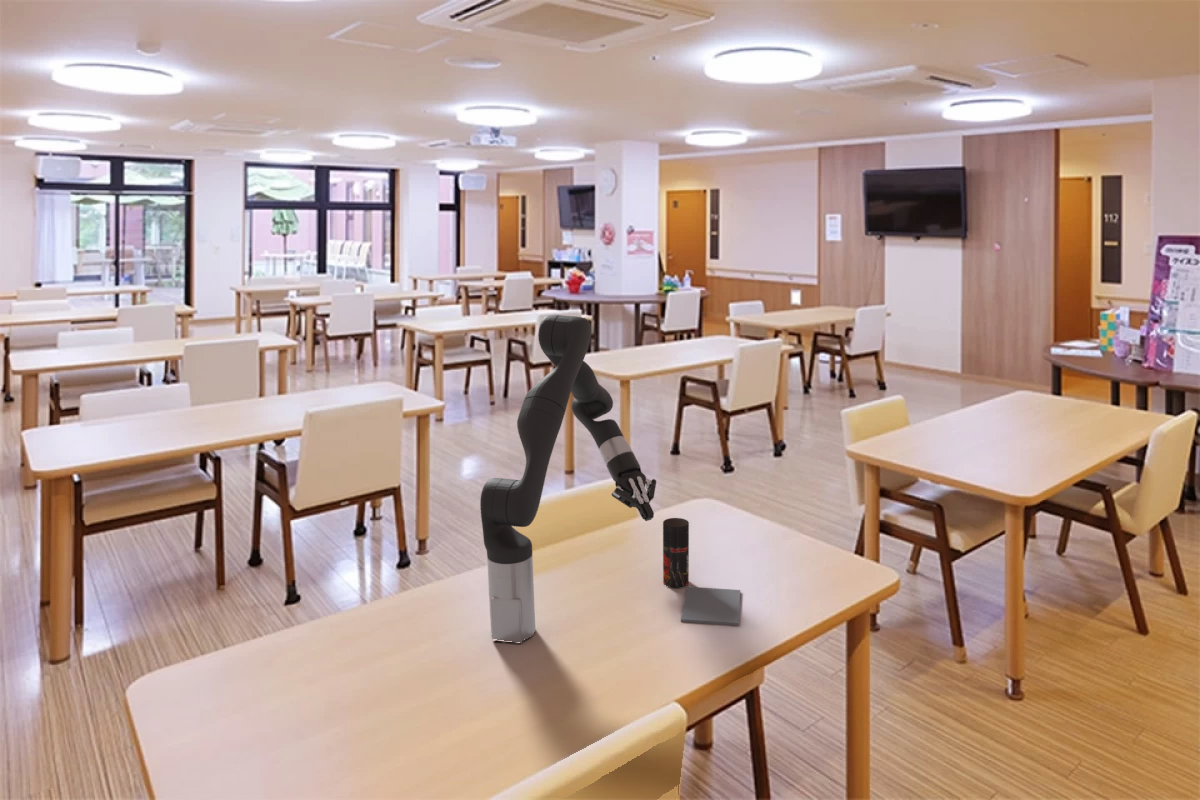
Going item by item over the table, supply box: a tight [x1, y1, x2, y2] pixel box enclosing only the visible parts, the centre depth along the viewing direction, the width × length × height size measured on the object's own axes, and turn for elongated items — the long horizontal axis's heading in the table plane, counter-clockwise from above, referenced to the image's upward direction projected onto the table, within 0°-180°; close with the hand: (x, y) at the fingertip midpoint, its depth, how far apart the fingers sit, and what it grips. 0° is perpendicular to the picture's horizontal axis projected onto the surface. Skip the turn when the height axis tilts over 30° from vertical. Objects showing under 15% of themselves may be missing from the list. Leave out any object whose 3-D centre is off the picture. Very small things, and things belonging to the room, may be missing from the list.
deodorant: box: [662, 517, 690, 589], centre depth 195 cm, size 6×6×15 cm
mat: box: [680, 586, 741, 627], centre depth 184 cm, size 16×12×1 cm
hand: (649, 518), depth 201 cm, fingers closed
